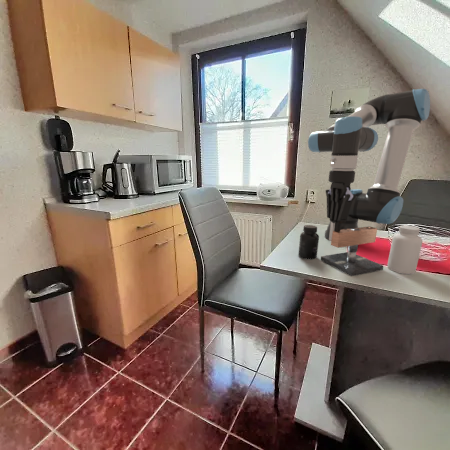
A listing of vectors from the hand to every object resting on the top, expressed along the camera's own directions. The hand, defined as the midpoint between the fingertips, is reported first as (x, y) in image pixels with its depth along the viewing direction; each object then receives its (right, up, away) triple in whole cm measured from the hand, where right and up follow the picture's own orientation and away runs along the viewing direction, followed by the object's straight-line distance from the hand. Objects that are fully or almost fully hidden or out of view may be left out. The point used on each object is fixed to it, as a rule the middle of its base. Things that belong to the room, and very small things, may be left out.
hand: (333, 240), depth 84 cm
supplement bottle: (-5, -7, +11) cm, 14 cm away
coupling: (+7, -4, +2) cm, 8 cm away
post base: (+7, -9, +3) cm, 12 cm away
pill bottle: (+23, -10, -1) cm, 25 cm away
